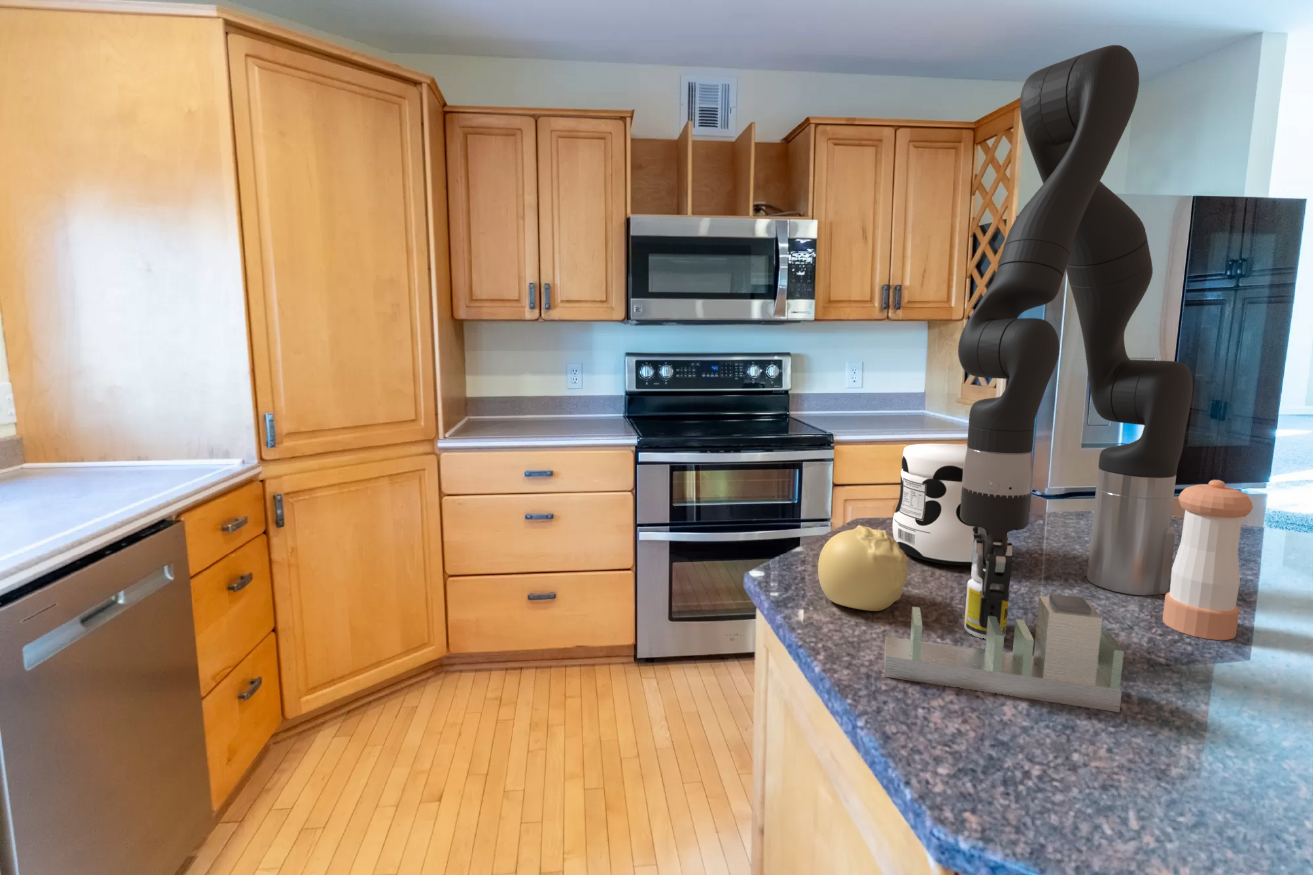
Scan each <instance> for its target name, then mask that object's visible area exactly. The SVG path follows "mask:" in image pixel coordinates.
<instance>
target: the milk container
mask: <svg viewBox="0 0 1313 875" xmlns="http://www.w3.org/2000/svg"><path fill="white" fill-rule="evenodd" d="M967 447H968V446H967V444H956V443H955V444H954V443H915V444H910V445H907V446H904V447H903V453H902V458H901V470H900V490H899V491H900V493H899V498H898V502H897V505H896V508H895V510H894V514H893V517H892V518H893V519H892V535H893V539H895V541H896V542H897V543H898V545H899V548H900V549H902V550H903V552H904V553H906V555H909V556H912V557H915V558H917V559H920V560H923V561H928V562H931V563H935V564H945V565H949V566H971V564H972V551H973V546H972V535H973V528H974V526H971V525H969V524H967V523H965V522H963V521H962V520H961V518H960V507H961V493H962V479H963V466H964V460H965V456H966V451H967Z"/></svg>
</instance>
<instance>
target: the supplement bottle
mask: <svg viewBox="0 0 1313 875" xmlns="http://www.w3.org/2000/svg"><path fill="white" fill-rule="evenodd" d="M976 570H977V564H974V565H972V568H971V572H970V574H971V575H970V576H971V578H970V579H969V580H968V581H967V583H966V597H965V598H966V599H965V611H964V612H965V613H964V620H963V621H964V624H963V626H964V627H963V628H964V630H965V631H966V632H967V633H968V634H970V635H971V634H972V635H971V636H973V637H976V638H979V639H983V638H984V639H983V640H986V635H987V628H983V627H981V626H980V624H979V614H980V601H981V595H980V591H981V579H980V578H979V577H977V575H976ZM983 570H984V571H985V572H986V569H983ZM990 589H996V590H998V589H999V584H991V585H990ZM1009 601H1010V591H1009V592H1008V599H1007V601H1002V606H1001V618H1000V627H1001V630H1002V632H1003V635H1004V638H1005V637H1006V635H1007V634H1006V633H1007V627H1008V624H1007V623H1008V613H1009Z"/></svg>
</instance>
